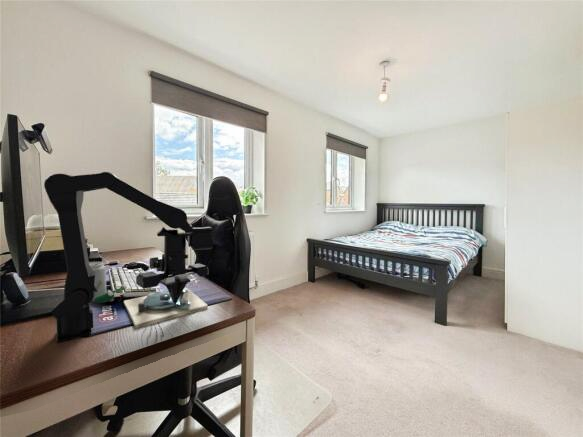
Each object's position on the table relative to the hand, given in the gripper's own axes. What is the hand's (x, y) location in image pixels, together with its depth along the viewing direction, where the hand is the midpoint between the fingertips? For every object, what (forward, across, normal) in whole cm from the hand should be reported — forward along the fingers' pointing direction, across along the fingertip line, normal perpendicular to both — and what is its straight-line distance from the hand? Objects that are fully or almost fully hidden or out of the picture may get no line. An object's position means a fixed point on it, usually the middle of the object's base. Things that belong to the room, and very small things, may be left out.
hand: (174, 303), depth 74 cm
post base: (+4, -1, -8) cm, 9 cm away
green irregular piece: (+4, +9, -26) cm, 28 cm away
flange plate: (+2, -1, -7) cm, 8 cm away
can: (+4, +13, -32) cm, 34 cm away
